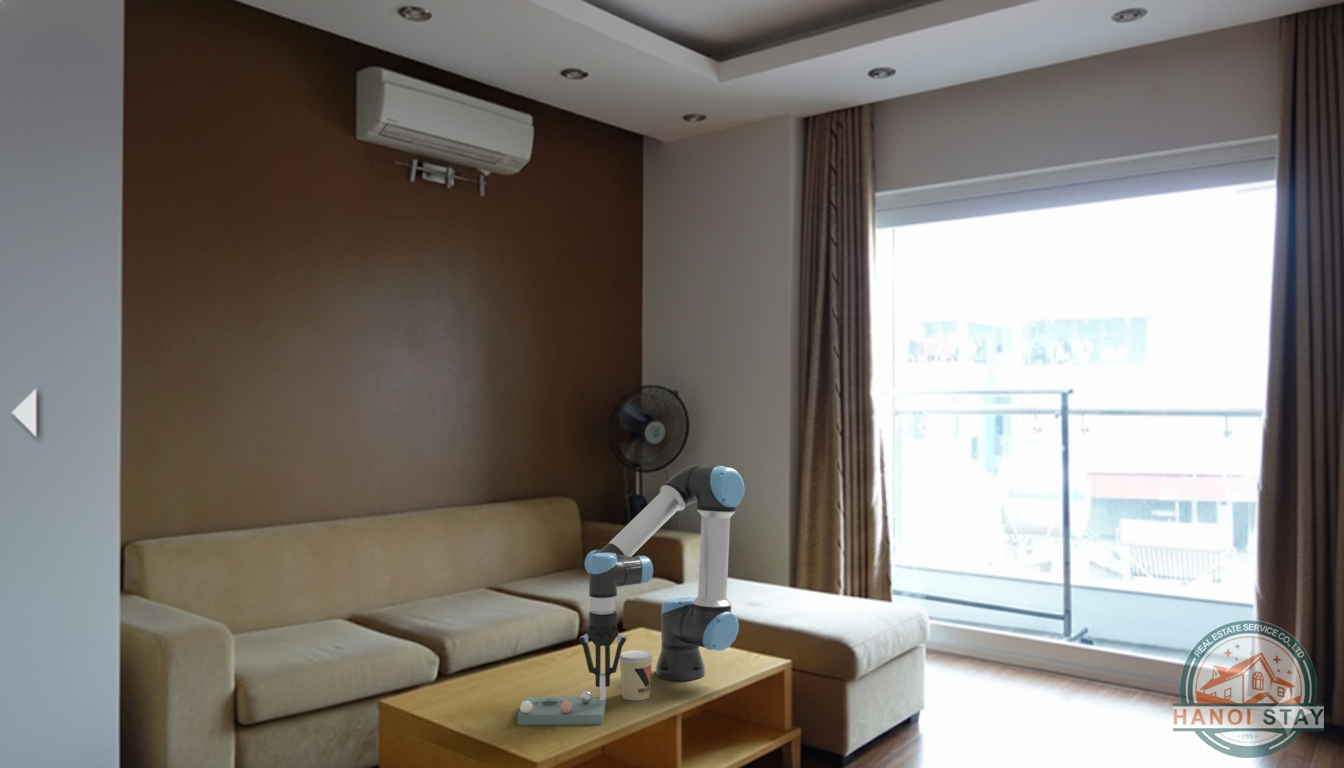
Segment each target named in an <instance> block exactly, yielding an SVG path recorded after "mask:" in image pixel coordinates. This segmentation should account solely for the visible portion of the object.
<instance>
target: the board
mask: <svg viewBox="0 0 1344 768" xmlns="http://www.w3.org/2000/svg"><path fill="white" fill-rule="evenodd" d="M566 700H567V701H570V702H571V703H572V710H571V711H570V712H569V713H563V712H562V711H561V709H560V705H561V703H562V702H563V701H566ZM524 701H530V702H531V703H532V710H531V712H529V713H523V712H522V711H521V709H520V708H519V709H520V710H519V711H518V714H517V725H518V726H519V725H521V726H522V725H523V726H525V725H527V726H528V725H531V726H533V725H534V726H535V725H538V726H540V725H544V726H545V725H550V726H551V725H562V726H563V725H566V726H567V725H603V722H604V718H605V712H606V707H607V698H606V699H605V700H600V696H592V700H591V701H590V702H589V703H583V702H582V701H581V699H580V696H526V697H525V699H524Z"/></svg>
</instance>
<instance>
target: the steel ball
mask: <svg viewBox="0 0 1344 768" xmlns="http://www.w3.org/2000/svg"><path fill="white" fill-rule="evenodd" d="M579 697H580V699H581V701H582V702H583V703H589V702H590V701H591V700H592V697H593V696H592V693H591V692H590V691H587V690H583V692H581V693H580V696H579Z"/></svg>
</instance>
